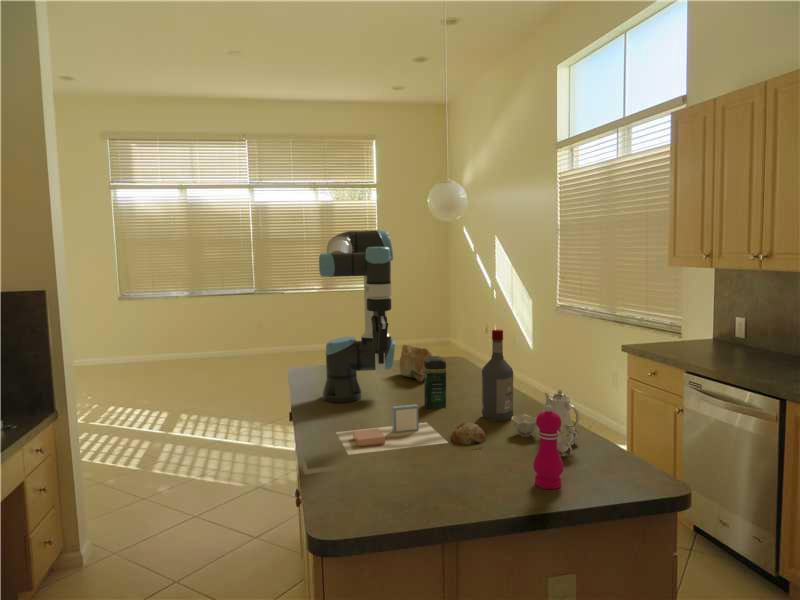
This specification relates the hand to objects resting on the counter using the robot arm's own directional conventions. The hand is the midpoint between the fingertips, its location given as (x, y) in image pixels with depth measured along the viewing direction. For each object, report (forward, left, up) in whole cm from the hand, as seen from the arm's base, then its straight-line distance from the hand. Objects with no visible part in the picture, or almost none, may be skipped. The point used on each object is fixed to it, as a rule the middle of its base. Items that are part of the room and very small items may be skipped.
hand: (380, 373), depth 177 cm
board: (+6, +1, -20) cm, 21 cm away
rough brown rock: (-67, +36, -20) cm, 79 cm away
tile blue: (+2, +7, -19) cm, 20 cm away
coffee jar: (-23, +26, -20) cm, 40 cm away
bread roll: (+14, +23, -20) cm, 34 cm away
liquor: (-5, +42, -20) cm, 47 cm away
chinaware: (+23, +46, -20) cm, 55 cm away
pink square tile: (+3, -6, -18) cm, 19 cm away
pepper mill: (+48, +30, -20) cm, 60 cm away
